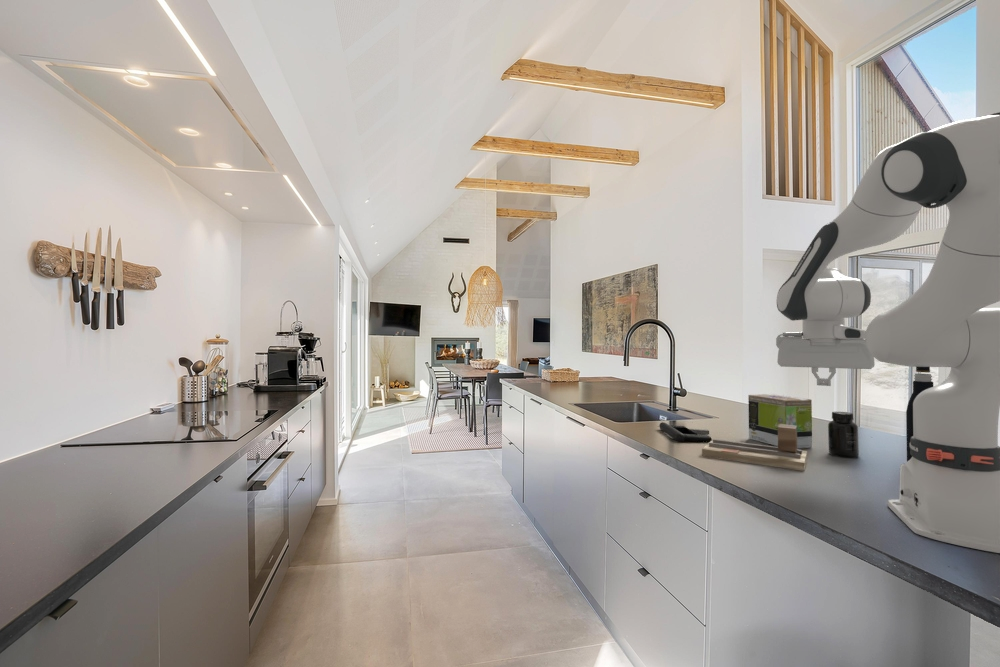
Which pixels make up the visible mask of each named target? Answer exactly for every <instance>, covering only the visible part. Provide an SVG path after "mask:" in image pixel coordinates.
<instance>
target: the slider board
mask: <svg viewBox="0 0 1000 667" xmlns="http://www.w3.org/2000/svg"><path fill="white" fill-rule="evenodd" d="M701 456H702V457H706V458H714V459H720V460H727V461H728V460H729V461H734V462H735V461H736V462H741V463H742V462H743V463H746V464H747V463H749V464H756V465H761V466H762V465H763V466H767V467H776V468H783V469H788V470H789V469H790V470H796V471H801V472H802V471H803V472H805V469H806V465H807V461H808V450H802V449H799V448H797V453H789V452H781V451H778V446H775V445H772V446H771V445H765V444H756V443H749V442H748V443H747V442H742V441H741V442H740V441H734V440H733V441H732V440H724V439H716V438H713V439H712V441H710V442H709V443H708V442H707V444H706V445H705V446H704V447H702V448H701Z"/></svg>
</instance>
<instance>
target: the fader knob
mask: <svg viewBox="0 0 1000 667" xmlns="http://www.w3.org/2000/svg"><path fill="white" fill-rule="evenodd" d="M777 447H778V451H781V452H789V453H797V449H798V448H797V426H795V425H785V424H779V426H778V446H777Z"/></svg>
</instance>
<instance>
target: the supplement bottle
mask: <svg viewBox="0 0 1000 667" xmlns="http://www.w3.org/2000/svg"><path fill="white" fill-rule="evenodd" d="M831 419H832V420H831V421H829V422H828V424H827V434H828V436H827V437H828V438H827V439H828V452H829V454H830V455H831V454H832V456H834V457H839V458H846V459H847V458H848V459H851V458H852V459H853V458H857V457H859V456H860V448H859V446H860V444H859V443H860V442H859V441H860V440H859V426H858V424H857V423H855V422H853V421H854V413H852V412H847V411H832V412H831Z"/></svg>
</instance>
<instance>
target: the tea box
mask: <svg viewBox="0 0 1000 667" xmlns="http://www.w3.org/2000/svg"><path fill="white" fill-rule="evenodd" d="M747 402H748V439H749V440H750V439H751V440H754V441H757V442H761V443H765V444H769V445H770V446H771V445H772V446H774V447H778V426H779V424H785V425H795V426H797V449H806V448H807V449H808V448H812V447H813V415H812V413H813V412H812V410H813V407H812V406H813V402H812V399H810V398H802V397H795V396H788V395H780V394H775V393H768V394H766V393H763V394H748V401H747Z"/></svg>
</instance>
